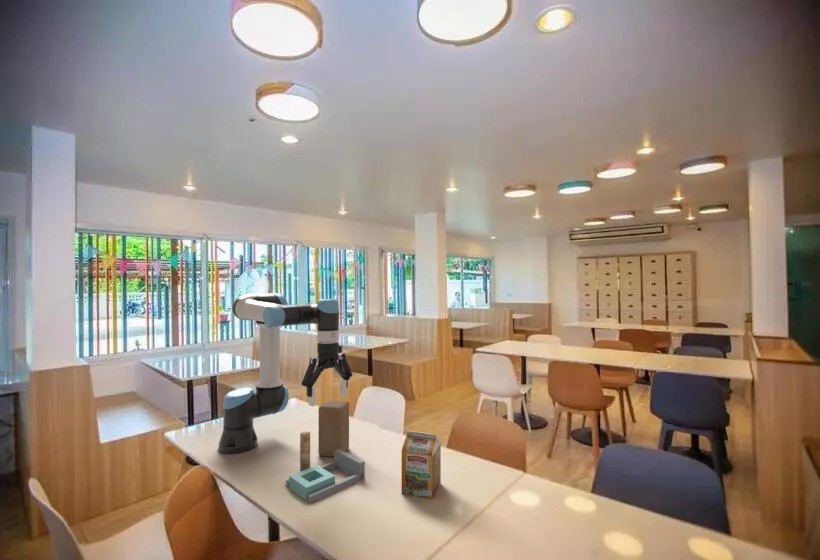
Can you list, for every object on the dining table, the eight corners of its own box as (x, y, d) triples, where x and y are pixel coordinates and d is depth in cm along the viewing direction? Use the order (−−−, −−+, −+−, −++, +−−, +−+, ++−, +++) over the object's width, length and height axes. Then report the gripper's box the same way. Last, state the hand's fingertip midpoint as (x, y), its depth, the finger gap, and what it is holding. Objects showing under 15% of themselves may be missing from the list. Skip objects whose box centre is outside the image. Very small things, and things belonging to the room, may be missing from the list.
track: (285, 485, 136) (285, 467, 136) (338, 464, 151) (338, 448, 151) (310, 503, 125) (310, 484, 125) (364, 478, 141) (364, 461, 141)
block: (341, 458, 156) (341, 408, 156) (317, 456, 158) (317, 406, 158) (349, 448, 166) (349, 400, 166) (327, 446, 168) (327, 399, 168)
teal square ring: (289, 487, 134) (289, 476, 134) (317, 476, 142) (317, 465, 142) (306, 500, 126) (306, 487, 126) (335, 487, 134) (335, 475, 134)
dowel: (298, 471, 146) (298, 433, 146) (306, 468, 148) (306, 430, 148) (303, 474, 143) (303, 436, 143) (312, 471, 146) (312, 433, 146)
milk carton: (440, 483, 137) (440, 429, 137) (432, 499, 127) (432, 440, 127) (411, 478, 140) (411, 425, 141) (401, 493, 130) (401, 436, 131)
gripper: (303, 347, 130) (303, 411, 130) (361, 339, 148) (361, 395, 148) (291, 344, 135) (291, 406, 135) (349, 337, 154) (349, 392, 153)
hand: (328, 401), depth 142 cm, fingers open, 13 cm apart
